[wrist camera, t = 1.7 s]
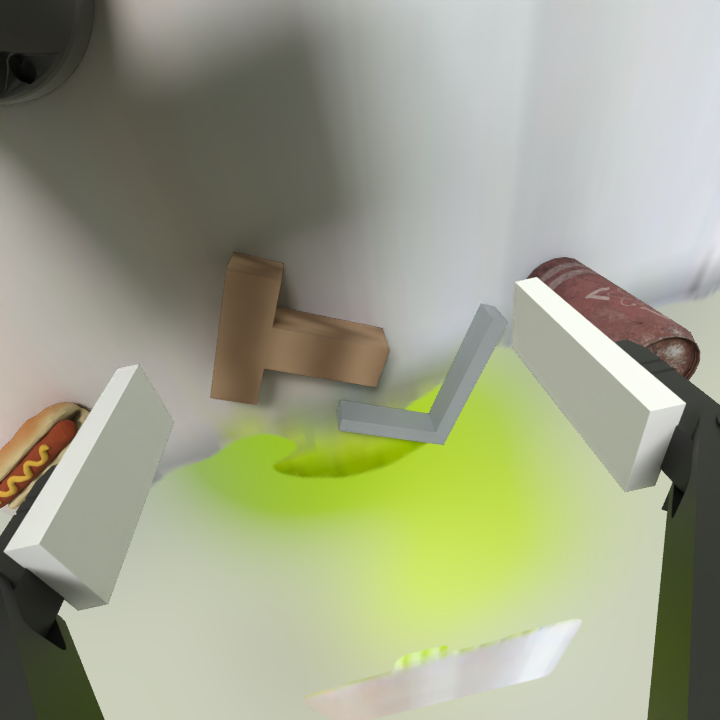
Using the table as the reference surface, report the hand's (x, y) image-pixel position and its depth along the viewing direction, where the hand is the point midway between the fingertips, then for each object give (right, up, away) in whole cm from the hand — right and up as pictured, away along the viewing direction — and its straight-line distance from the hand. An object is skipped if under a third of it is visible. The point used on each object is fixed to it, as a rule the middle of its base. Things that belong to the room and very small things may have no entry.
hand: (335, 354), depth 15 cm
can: (+18, +7, +24) cm, 31 cm away
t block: (-4, +2, +23) cm, 24 cm away
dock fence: (+6, 0, +26) cm, 27 cm away
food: (-30, -8, +27) cm, 41 cm away
